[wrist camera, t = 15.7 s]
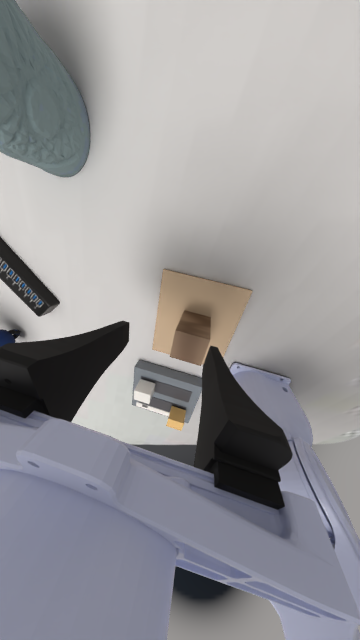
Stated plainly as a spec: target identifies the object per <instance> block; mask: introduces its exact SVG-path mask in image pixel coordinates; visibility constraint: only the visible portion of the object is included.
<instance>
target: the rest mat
mask: <svg viewBox="0 0 360 640" xmlns="http://www.w3.org/2000/svg"><path fill="white" fill-rule="evenodd" d="M251 294H252V290H248V289H244V288H240V287H236V286H232V285H228V284H224V283H220V282H215V281H211V280H207V279H203V278H199V277H195V276H191V275H187V274H182V273H178V272H174V271H170V270H166V269H163V274H162V282H161V289H160V296H159V304H158V311H157V319H156V326H155V333H154V341H153V348H152V349H153V350H156V351H160V352H163V353H166V354H170V353H171V348H172V344H173V339H174V334H175V330H176V328H177V325H178V323H179V321H180V319H181V317H182V314H183V312H184V310H186V311H190V312H193V313H197V314H201V315H205V316H208V317H211V331H210V342H209V345H208V348H207V350H206V353H205V356H204V359H203V361H202V364H204V361H205V358H206V356H207V353H208V350H209V348H210V345H211V346H214V347H218V349H219V351H220V353H221V355H222V357H223V356H224V354H225V352H226V349H227V347H228V345H229V343H230V341H231V338H232V336H233V334H234V332H235V329H236V327H237V325H238V323H239V320H240V318H241V316H242V314H243V311H244V309H245V307H246V305H247V303H248V300H249V298H250V296H251Z"/></svg>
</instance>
